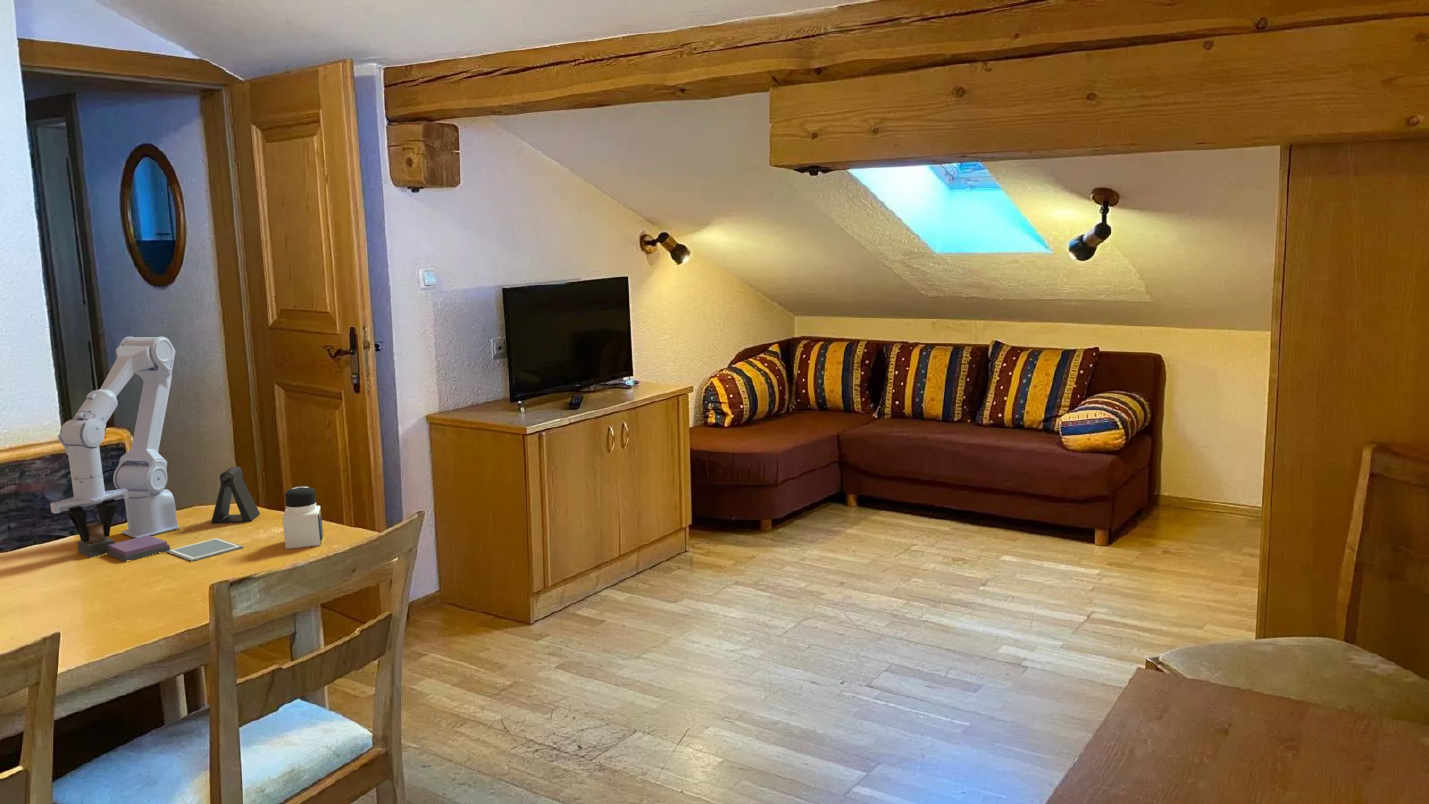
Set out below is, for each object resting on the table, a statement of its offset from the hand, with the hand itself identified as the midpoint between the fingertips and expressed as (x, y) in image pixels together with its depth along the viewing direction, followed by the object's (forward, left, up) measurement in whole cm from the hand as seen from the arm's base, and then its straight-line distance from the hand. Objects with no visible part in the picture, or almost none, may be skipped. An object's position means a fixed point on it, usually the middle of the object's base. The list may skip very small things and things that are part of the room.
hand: (95, 538), depth 227 cm
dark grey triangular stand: (-30, +1, -3) cm, 30 cm away
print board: (-14, +18, -3) cm, 23 cm away
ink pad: (-5, +8, -3) cm, 10 cm away
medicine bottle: (-29, +32, -3) cm, 43 cm away
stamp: (0, 0, -3) cm, 3 cm away
